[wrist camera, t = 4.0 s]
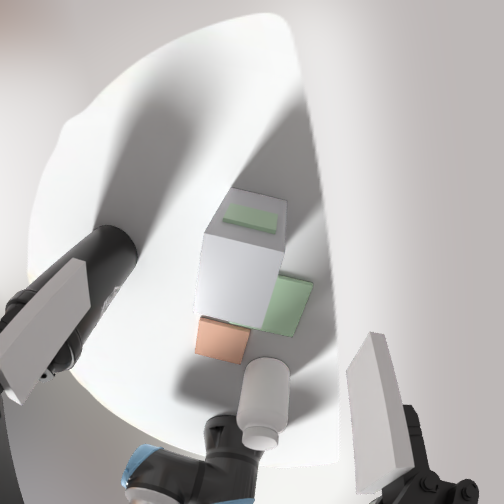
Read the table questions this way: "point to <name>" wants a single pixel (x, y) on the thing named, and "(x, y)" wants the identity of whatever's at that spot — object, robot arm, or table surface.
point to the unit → (241, 258)
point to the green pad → (285, 306)
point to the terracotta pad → (221, 340)
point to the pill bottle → (264, 403)
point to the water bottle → (99, 284)
